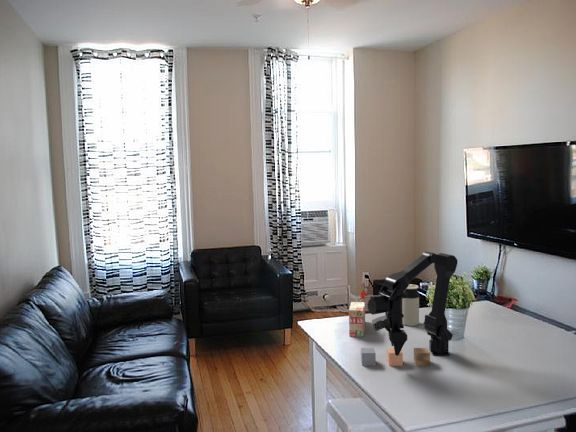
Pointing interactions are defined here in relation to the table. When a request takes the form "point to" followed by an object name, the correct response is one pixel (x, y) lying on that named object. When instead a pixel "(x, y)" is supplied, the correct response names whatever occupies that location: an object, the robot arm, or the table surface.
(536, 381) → the table surface
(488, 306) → the table surface
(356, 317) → the stack of blocks
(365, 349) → the grey cube
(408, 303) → the travel mug
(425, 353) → the walnut cube
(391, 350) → the terracotta cube
